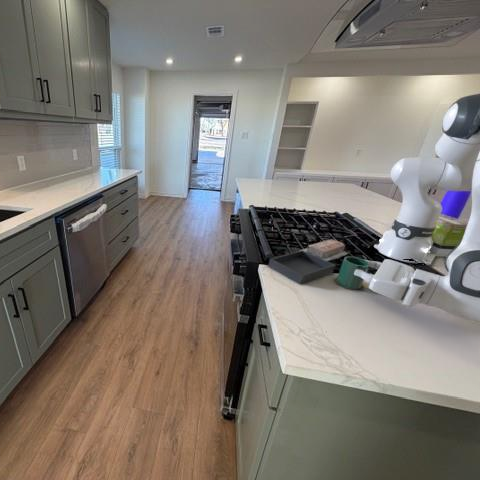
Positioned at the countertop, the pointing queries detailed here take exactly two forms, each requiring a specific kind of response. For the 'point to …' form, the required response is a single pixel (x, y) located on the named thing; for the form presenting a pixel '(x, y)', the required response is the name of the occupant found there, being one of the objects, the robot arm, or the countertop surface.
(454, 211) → the bottle
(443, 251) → the tea box
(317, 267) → the baking tray
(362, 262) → the enamel cup
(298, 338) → the countertop surface
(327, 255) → the packaged product
